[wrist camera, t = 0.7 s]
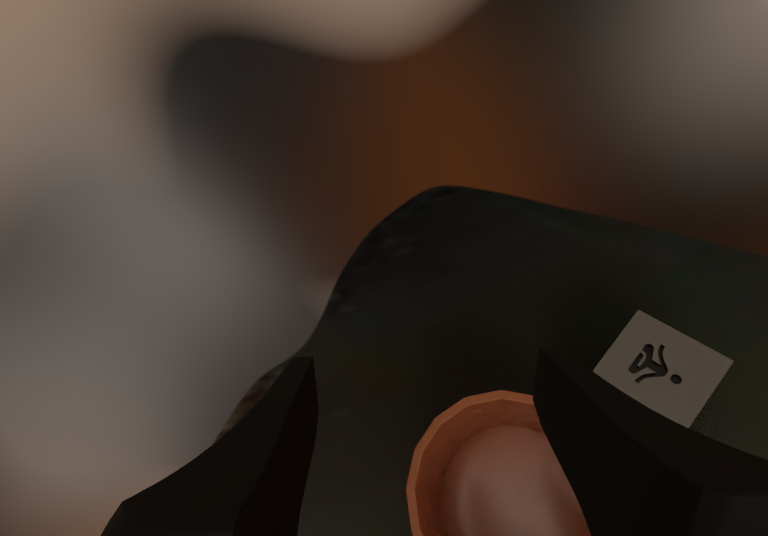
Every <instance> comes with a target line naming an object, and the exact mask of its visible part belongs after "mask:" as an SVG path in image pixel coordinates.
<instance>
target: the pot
mask: <svg viewBox="0 0 768 536" xmlns="http://www.w3.org/2000/svg"><path fill="white" fill-rule="evenodd" d="M406 495H407V502H408V510H409V518H410V526H411V532H412V535H413V536H591V534H590V531H589V528H588V526H587V523H586V520H585V518H584V515H583V513H582V510H581V507H580V505H579V503H578V500H577V498H576V496H575V494H574V491H573V489H572V487H571V485H570V483H569V481H568V479H567V477H566V475H565V473H564V471H563V469H562V467H561V465H560V463H559V461H558V459H557V457H556V455H555V453H554V451H553V449H552V447H551V445H550V443H549V441H548V439H547V437H546V435H545V433H544V431H543V429H542V426H541V423H540V421H539V418H538V415H537V412H536V409H535V406H534V402H533V395H528V394H522V393H517V392H511V391H506V390H497V391H492V392H487V393H483V394H478V395H473V396H468V397H466V398H463V399H462V400H460V401H459V402H457V403H456V404H454V405H453V406H451V407H450V408H448V409H447V410H445V411H444V412H443V413H441V414H440V415H438V416H437V417H436V418H435V419H434V420H433V422H432V423H431V425H430V426H429V428H428V429H427V431H426V432H425V434H424V435H423V437H422V438H421V440H420V441H419V443H418V444H417V446H416V447H415V450H414V453H413V458H412V462H411V467H410V472H409V476H408V481H407V485H406Z"/></svg>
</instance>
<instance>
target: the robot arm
mask: <svg viewBox="0 0 768 536" xmlns="http://www.w3.org/2000/svg"><path fill="white" fill-rule="evenodd" d="M533 402H534V406H535V409H536V412H537V415H538V418H539V421H540V423H541V426H542V429H543V431H544V433H545V435H546V437H547V439H548V441H549V443H550V445H551V447H552V449H553V451H554V453H555V455H556V457H557V459H558V461H559V463H560V465H561V467H562V469H563V471H564V473H565V475H566V477H567V479H568V481H569V483H570V485H571V487H572V489H573V491H574V494H575V496H576V498H577V500H578V503H579V505H580V507H581V510H582V513H583V515H584V518H585V520H586V523H587V526H588V528H589V531H590V534H591V536H768V460H766V459H763V458H760V457H757V456H755V455H752V454H749V453H747V452H744V451H741V450H739V449H736V448H733V447H731V446H728V445H726V444H723V443H721V442H718V441H716V440H713V439H711V438H709V437H707V436H704V435H702V434H700V433H698V432H695V431H693V430H691V429H689V428H687V427H685V426H683V425H681V424H678V423H676V422H674V421H673V420H671V419H669V418H667V417H665V416H663V415H661V414H659V413H658V412H656V411H654V410H652V409H650V408H648V407H647V406H645V405H643V404H642V403H640V402H638V401H637V400H635V399H634V398H632V397H630V396H629V395H627V394H626V393H624V392H622V391H621V390H619V389H618V388H616V387H615V386H613V385H612V384H610V383H609V382H607V381H606V380H604V379H603V378H602V377H600V376H599V375H597V374H596V373H595V372H593V371H592V370H590V369H589V368H588V367H586V366H585V365H583V364H582V363H581V362H579V361H578V360H576V359H575V358H574V357H572V356H571V355H569V354H568V353H567V352H565V351H564V350H562V349H561V348H559V347H550V348H539V355H538V362H537V369H536V377H535V384H534V392H533ZM318 409H319V407H318V398H317V388H316V379H315V370H314V361H313V356H310V357H293V358H292V359H291V360H290V362H289V363H288V365H287V366H286V367H285V369H284V370H283V371H282V373H281V374H280V375H279V377H278V378H277V379H276V381H275V382H274V383H273V384H272V386H271V387H270V388H269V389H268V390H267V392H266V393H265V394H264V395H263V396H262V398H261V399H260V400H259V401H258V402H257V403H256V404H255V405H254V407H253V408H252V409H251V410H250V411H249V412H248V413H247V414H246V415H245V416H244V417H243V418H242V419H241V420H240V421H239V422H238V423H237V424H236V425H235V426H234V427H233V428H232V429H231V430H230V431H229V432H228V433H226V434H225V435H224V436H223V437H222V438H221V439H220V440H218V441H217V442H216V443H214V444H213V445H212V446H211V447H209V448H208V449H207V450H205V451H204V452H203V453H202V454H200V455H199V456H198V457H196V458H195V459H194V460H192V461H191V462H189V463H188V464H186V465H185V466H183V467H182V468H180V469H179V470H177V471H176V472H174V473H172V474H171V475H169V476H168V477H166V478H165V479H163V480H161V481H159V482H158V483H156V484H154V485H152V486H150V487H149V488H147V489H145V490H143V491H141V492H139V493H138V494H136V495H134V496H132V497H130V498H128V499H126V500H124V501H122V503H121V504H120V506H119V507H118V509H117V510H116V512H115V513H114V515H113V516H112V517H111V519H110V521H109V522H108V524H107V526H106V527H105V529H104V531H103V532H102V535H101V536H297V532H298V523H299V515H300V510H301V504H302V499H303V494H304V490H305V485H306V481H307V476H308V472H309V467H310V462H311V458H312V453H313V448H314V444H315V439H316V431H317V420H318Z"/></svg>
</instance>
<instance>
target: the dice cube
mask: <svg viewBox="0 0 768 536" xmlns="http://www.w3.org/2000/svg"><path fill="white" fill-rule="evenodd" d="M733 362H734V361H733V360H731V359H729V358H727V357H725V356H724V355H722V354H720V353H718V352H716V351H714V350H712V349H711V348H709V347H707V346H705V345H703V344H701V343H699V342H698V341H696V340H694V339H692V338H690V337H688V336H686V335H685V334H683V333H681V332H679V331H677V330H675V329H673V328H672V327H670V326H668V325H666V324H664V323H662V322H660V321H659V320H657V319H655V318H653V317H651V316H649V315H647V314H646V313H644V312H642V311H640V310H638V311H637V312H636V314H635V315H634V316H633V318H632V319H631V320H630V322H629V323H628V324H627V326H626V327H625V328H624V330H623V331H622V332H621V334H620V335H619V336H618V338H617V339H616V340H615V342H614V343H613V344H612V346H611V347H610V348H609V350H608V351H607V352H606V354H605V355H604V356H603V358H602V359H601V360H600V362H599V363H598V364H597V366H596V367H595V368H594V370H593V372H595V373H596V374H597V375H599V376H600V377H602V378H603V379H604V380H606V381H607V382H609V383H610V384H612V385H613V386H615V387H616V388H618V389H619V390H621V391H622V392H624V393H626V394H627V395H629V396H630V397H632V398H634V399H635V400H637V401H638V402H640V403H642V404H643V405H645V406H647V407H648V408H650V409H652V410H654V411H656V412H658V413H659V414H661V415H663V416H665V417H667V418H669V419H671V420H673V421H674V422H676V423H678V424H681V425H683V426H685V427H687V428H689V427H690V425H691V424H692V422H693V421H694V419H695V418H696V416H697V415H698V413H699V412H700V411H701V409H702V408H703V406H704V405H705V403H706V402H707V400H708V399H709V397H710V396H711V394H712V393H713V391H714V390H715V388H716V387H717V385H718V384H719V382H720V381H721V379H722V378H723V376H724V375H725V373H726V372H727V370H728V369H729V367H730V366H731V364H732V363H733Z"/></svg>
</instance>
